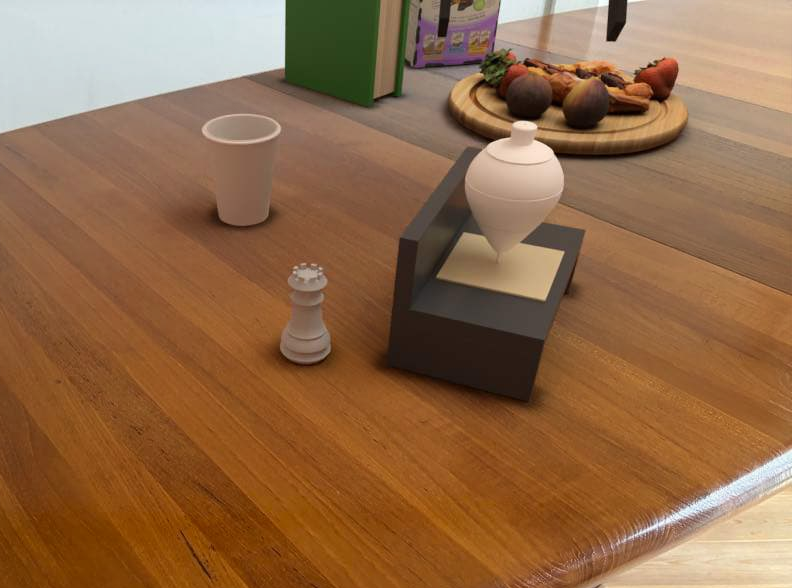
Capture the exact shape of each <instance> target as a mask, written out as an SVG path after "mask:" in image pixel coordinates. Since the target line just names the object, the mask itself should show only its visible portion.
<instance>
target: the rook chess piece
mask: <svg viewBox="0 0 792 588" xmlns="http://www.w3.org/2000/svg"><path fill="white" fill-rule="evenodd" d="M287 283H288V285H289V287H290V288H291V289H292V292H291V293H290V296H289V299H290V300H291V303H292V304H291V306H292V307H291V312H290V317H289V321H288V322H287V323H286V326H285V328H284V329H283V330H282V332H281V336H280V345H279V350H280V352H281V353H282V355H283V356H284V357H285V358H286V359H287V360H288V361H290V362H293V363H295V364H299V365H312V364H317V363H319V362H321V361H323V360H325V358H326V357H327V356H328V355H329V354H330V352H332V351H331V350H332V349H331V348H332V345H331V334H330V332H329V330H328V329H327V326H326V324H325V323H324V320H323V312H322V302H323V301H324V299H325V295H324V293H323V292H322V291H323V289H324V288H325V287H326V286H327V285H328V279H327V277H326V276H325V275H324V268H323V267H322V266H319V267H318V264H317V263H311V264H310V267H307V263H306V262H304V263H299V266H297V265H295V266H294V267H292V273H291V275H290V276H288V278H287Z"/></svg>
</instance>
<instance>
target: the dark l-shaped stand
mask: <svg viewBox="0 0 792 588" xmlns="http://www.w3.org/2000/svg"><path fill="white" fill-rule="evenodd" d="M483 149H484V148H478V147H471V146H466V147H465V149H464V150H463V151H462V153H461V154H460V155H459V156H458V158H457V159H456V160H455V162H454V163H453V165H452V166H451V167H450V168H449V170H448V171H447V173H446V174H445V176H444V177H443V178H442V180H441V181H440V182H439V184H438V185H437V186H436V187H435V189H434V190H433V191H432V193H431V194H430V195H429V197H428V198H427V200H426V201H425V203H424V204H422V207H421V208H420V209H419V210H418V211H417V213H416V215H415V216H414V217H413V219H412V220H410V222H409V224H408V225H407V226H406V228H405V229H404V231H403V232H402V234H401V235H400V236H399V238H398V248H397V255H396V256H397V257H396V267H395V276H394V285H393V295H392V303H391V304H392V305H391V313H390V322H389V332H388V341H387V352H386V358H385V359H386V361H385V366H388V367H391V368H396V369H399V370H403V371H408V372H411V373H415V374H418V375H422V376H426V377H430V378H434V379H438V380H442V381H446V382H450V383H453V384H457V385H461V386H465V387H470V388H473V389H477V390H481V391H485V392H488V393H492V394H496V395H501V396H504V397H508V398H512V399H516V400H520V401H524V402H528V403H529V402H530V400H531V398H532V396H533V392H534V389H535V385H536V381H537V377H538V373H539V368H540V365H541V361H542V356H543V353H544V348H545V345H546V343H547V341H548V337H549V335H550V331H551V329H552V326H553V324H554V321H555V319H556V316H557V313H558V311H559V308H560V305H561V302H562V300H563V297H564V295H565V294H569V293H570V291H571V287H572V284H573V280H574V275H575V272H576V270H577V265H578V262H579V261H578V260H579V258H580V254H581V250H582V246H583V242H584V239H585V234H586V229H583V228H578V227H573V226H567V225H561V224H557V223H550V222H544V221H543V222H542V223H541V224H540V225H539V226H538V227H537V228H535V229H534V230H533V231H532V232H531V233H530V234H529V235H528V236H527V237H525V238H524V239H523V240H522V241H521V242H519V243H518V244H517V245H516V246H514V247H513V248H511V249H510V250H508V251H507V252H505V253H502V257H501V262H499V263H497V262H496V259H497V254H498V253H497V252H495V251H494V249H493V248H492V247H491V245H490V244H489V242H488V241H487V239H486V238H485V236H484V235H483V233H482V231H481V229H480V228H479V226H478V224H477V222H476V220H475V218H474V217H473V214H472V212H471V209H470V206H469V203H468V200H467V197H466V193H465V177H466V173H467V170H468V168H469V166H470V164H471V162H472V161H473V160H474V158H475V157H476V156H477V155H478V154H479V153H480V152H481V151H482V150H483Z"/></svg>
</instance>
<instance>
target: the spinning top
mask: <svg viewBox="0 0 792 588" xmlns="http://www.w3.org/2000/svg"><path fill="white" fill-rule="evenodd" d="M536 131H537V125H536V124H534V123H532V122H528V121H517V122H515V123H513V124H512V128H511V138H504V139H500V140H497V141H496V140H493V141H492V142H490V143H488V144H487V146H485V148H482V149H483V150H482V151H481V152H480V153H479V154H478V155H477V156H476V157H475V158H474V160H473V161H472V162H471V164H470V166H469V168H468V170H467V173H466V177H465V193H466V197H467V200H468V203H469V206H470V209H471V212H472V214H473V217H474V218H475V220H476V222H477V224H478V226H479V228H480V229H481V231H482V233H483V235H484V236H485V238H486V239H487V241H488V242H489V244H490V245H491V247H492V248H493V249H494V251H495V252H497V253H498V254H497V259H496V262H497V263H499V262H501V257H502V253H505V252H507V251H508V250H510V249H511V248H513V247H514V246H516V245H517V244H518V243H519V242H521V241H522V240H523V239H524V238H525V237H527V236H528V235H529V234H530V233H531V232H532V231H533V230H534V229H535V228H537V227H538V226H539V225H540V224H541V223H542V222H544V221H545V219H546V218H547V217H548V216H549V215H550V214H551V212H552V211H553V210H554V209H555V208H556V206H557V204H558V203H559V201H560V200H561V197H562V194H563V191H564V186H565V185H564V184H565V176H564V170H563V168H562V165H561V163H560V161H559V159H558V158H557V156H556V154H555V152H553V150H552V149H551V148H549V147H548V146H546V145H545V144H543V143H541V142H539V141H536V140H534V137H535V134H536Z"/></svg>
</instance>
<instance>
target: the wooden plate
mask: <svg viewBox="0 0 792 588" xmlns="http://www.w3.org/2000/svg"><path fill="white" fill-rule="evenodd" d="M512 50H513V48H508V50H506V49H505V48H501V49H499V50H496V51H495V50H494V52H488V53H487V54H486V55H485V58H486V59H485V61H483V62H481V63H480V66H479V67H478V69H480V71H478V72H476V73H473V74H471V75H468V76H466V77H464V78H463V79H461V80H460V81H458V82H457V83H456V84H454V86H453V87H452V88H451V90H450V92H449V94H448V101H447V102H448V105H447V106H448V109H449V111H450V113H451V114H452V116H453V118H454V119H455V120H456V121H458V122H459V123H460V124H461V125H462V126H464V127H465V128H467V129H469V130H470V131H472V132H474V133H476V134H479V135H480V136H482V137H485V138H487V139H490V140H493V141H497V140H500V139H504V138H511V128H512V124H513V123H515V122H517V121H528V122H532V123H534V124H536V125H537V131H536V134H535V137H534V140H536V141H539V142H541V143H543V144H545V145H546V146H548V147H549V148H551V149H552V150H553V152H554V154H555V153H557V154H571V155H587V156H588V155H589V156H590V155H592V156H594V155H597V156H598V155H599V156H600V155H601V156H602V155H618V154H629V153H637V152H642V151H646V150H650V149H653V148H656V147H659V146H662V145H664V144H667V143H669V142H671V141H672V140H675V139H676V138H677V137H678V136H680V135H681V134H682V133H683V132H684V130H685V129H686V127H687V125H688V122H689V111H688V108H687V106H686V104H685V103H684V102H683V101H682V99H681V98H679V96H677V95H675V94H674V93H672V91H673V89H674V87H675V84H676V81H677V78H678V76H679V71H680V68H679V63H678V62H677V61H678V60H677V59H675V58H673V57H666V56H664V57H663V58H661V59H655V60H653V63H652V62H648V64H646V67H640V66H638V68H639V69H635V70H634V72H633V73H632V74H633V75H634V76H630V75H626V74H625V73H624V72H623V71H621V69H619V68H618V67H617V66H616V65H615V64H614V63H612V62H610V61H609V62H608V61H604V60H602V59H601V60H600V59H598V60H590V61H577V62H575V63H573V64H565V63H559V64H554V63H553V64H551V63H546V62H544V61H542V60H538V59H536V58H529V57H526V58H525V59H524V60H517V57H516V55H515V54H514V53H512V52H511V51H512ZM522 62H523V63H522Z"/></svg>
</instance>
